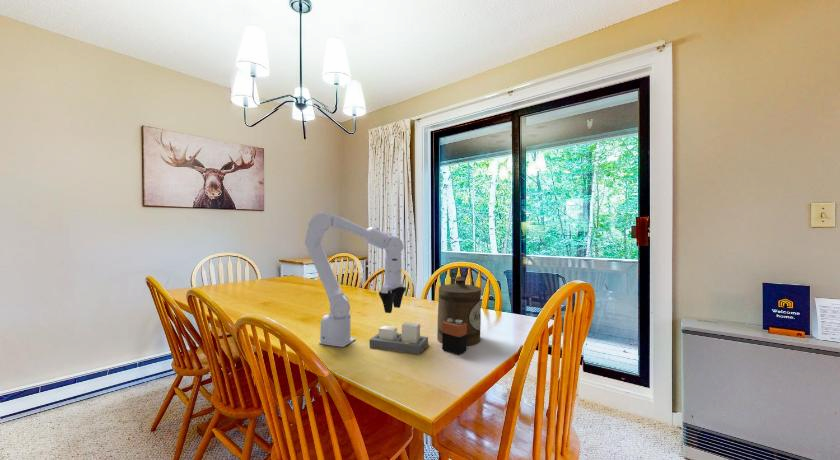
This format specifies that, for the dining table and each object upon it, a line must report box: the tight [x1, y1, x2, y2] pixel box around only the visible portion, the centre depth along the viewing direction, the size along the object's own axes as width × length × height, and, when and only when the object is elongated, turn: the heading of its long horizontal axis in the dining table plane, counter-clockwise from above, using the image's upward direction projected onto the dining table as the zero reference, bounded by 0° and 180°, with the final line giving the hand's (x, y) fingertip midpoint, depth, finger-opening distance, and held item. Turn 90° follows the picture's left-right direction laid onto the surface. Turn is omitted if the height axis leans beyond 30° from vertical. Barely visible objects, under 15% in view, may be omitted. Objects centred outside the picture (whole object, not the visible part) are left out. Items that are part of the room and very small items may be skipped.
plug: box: [401, 321, 421, 344], centre depth 109 cm, size 5×4×7 cm
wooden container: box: [436, 276, 482, 347], centre depth 117 cm, size 15×15×22 cm
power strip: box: [369, 325, 429, 355], centre depth 111 cm, size 17×9×6 cm, turn 71°
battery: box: [441, 318, 467, 356], centre depth 107 cm, size 4×7×10 cm, turn 49°
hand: (392, 309), depth 118 cm, fingers open, 7 cm apart
